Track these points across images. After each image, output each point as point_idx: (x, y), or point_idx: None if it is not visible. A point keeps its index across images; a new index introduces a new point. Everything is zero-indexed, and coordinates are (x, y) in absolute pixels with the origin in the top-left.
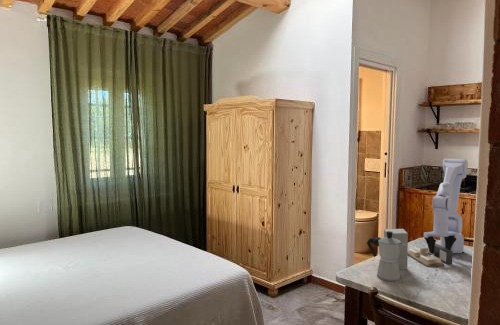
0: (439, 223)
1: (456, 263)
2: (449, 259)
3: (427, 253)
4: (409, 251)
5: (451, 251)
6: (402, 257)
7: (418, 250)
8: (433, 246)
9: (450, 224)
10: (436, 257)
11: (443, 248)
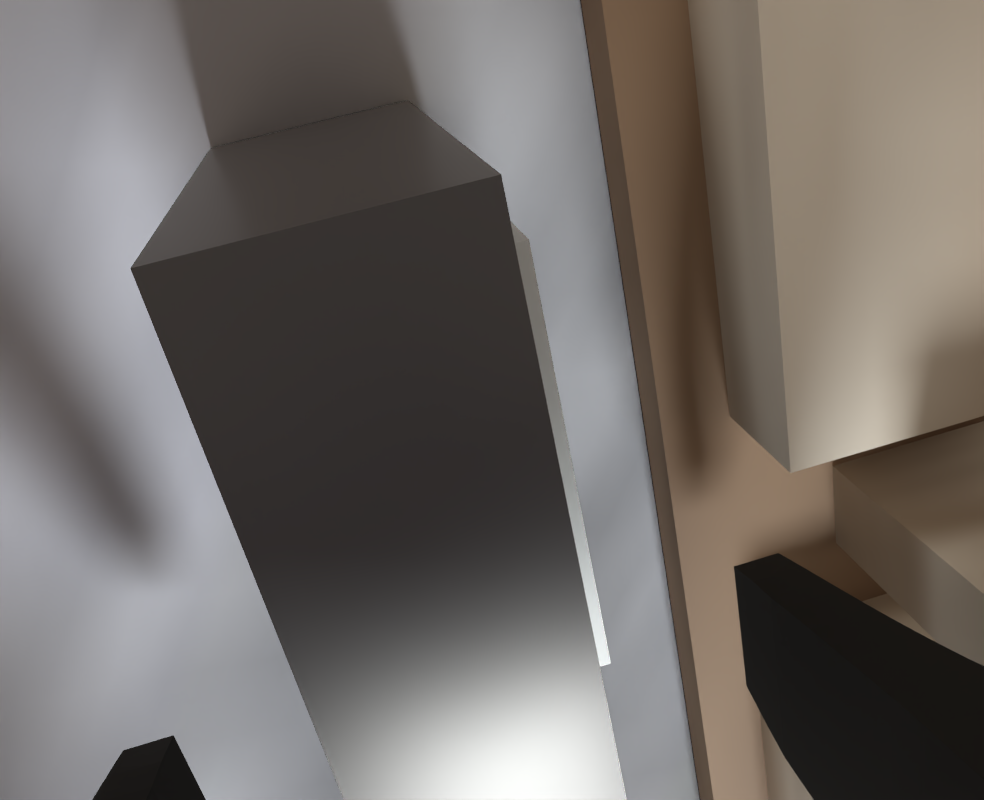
0: None
1: (31, 232)
2: (326, 143)
3: (939, 533)
4: None
5: (217, 258)
6: None
7: None
8: (977, 714)
9: None
10: (808, 214)
11: (477, 712)
